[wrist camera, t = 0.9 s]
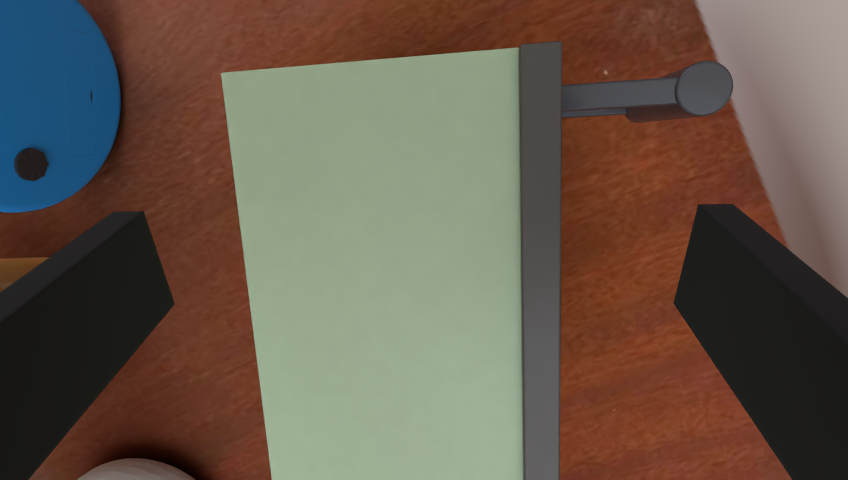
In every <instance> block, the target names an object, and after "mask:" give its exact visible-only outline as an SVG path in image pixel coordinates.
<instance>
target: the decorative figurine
mask: <svg viewBox="0 0 848 480" xmlns="http://www.w3.org/2000/svg"><path fill="white" fill-rule="evenodd" d="M77 480H195V479H194V478H192V477H191V476H189V475H188V474H186V473H184V472H183V471H181V470H179V469H177V468H175V467H173V466H171V465H168V464H165V463H163V462H159V461H154V460H150V459H140V458H126V459H120V460H115V461H111V462H108V463H105V464H102V465H99V466H98V467H96V468H94V469H92V470H90V471H89V472H87V473H86V474H84V475H83V476H81V477H80V478H78V479H77Z"/></svg>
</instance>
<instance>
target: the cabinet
mask: <svg viewBox="0 0 848 480" xmlns="http://www.w3.org/2000/svg"><path fill="white" fill-rule="evenodd" d="M221 78H222V86H223V94H224V102H225V110H226V118H227V126H228V134H229V141H230V149H231V157H232V165H233V173H234V181H235V189H236V197H237V205H238V213H239V221H240V229H241V237H242V245H243V253H244V261H245V269H246V277H247V285H248V293H249V301H250V309H251V317H252V325H253V333H254V341H255V349H256V356H257V364H258V372H259V380H260V388H261V396H262V404H263V412H264V420H265V428H266V436H267V444H268V452H269V460H270V468H271V476H272V480H560V333H561V160H562V42H561V41H554V42H543V43H531V44H522V45H520V49H519V48H506V49H494V50H482V51H471V52H459V53H447V54H435V55H424V56H412V57H400V58H389V59H377V60H365V61H353V62H342V63H330V64H318V65H306V66H295V67H283V68H271V69H260V70H248V71H236V72H224V73H221Z"/></svg>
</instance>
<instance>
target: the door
mask: <svg viewBox="0 0 848 480" xmlns="http://www.w3.org/2000/svg"><path fill="white" fill-rule="evenodd" d="M732 90H733V80H732V76H731V74H730V72H729V71H728V70H727V69H726V67H724V66H723V65H721V64H720V63H717V62H714V61H701V62H697V63H695V64H692V65H690V66H688V67H685V68H683V69H680V70H678V71H676V72H673V73H671V74H668V75H666V76H663V77H661V78H657V79H642V80H628V81H614V82H599V83H585V84H570V85H562V118H573V117H591V116H609V115H625V116H626V118H627V119H629V120H630V121H632V122H636V123H641V122H651V121H661V120H671V119H680V118H690V117H700V116H707V115H711V114H713V113H715V112H717V111H719V110H720V109H721V108H723V107H724V106H725V105H726V103H727V102H728V100H729V99H730V97H731V94H732Z"/></svg>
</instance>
